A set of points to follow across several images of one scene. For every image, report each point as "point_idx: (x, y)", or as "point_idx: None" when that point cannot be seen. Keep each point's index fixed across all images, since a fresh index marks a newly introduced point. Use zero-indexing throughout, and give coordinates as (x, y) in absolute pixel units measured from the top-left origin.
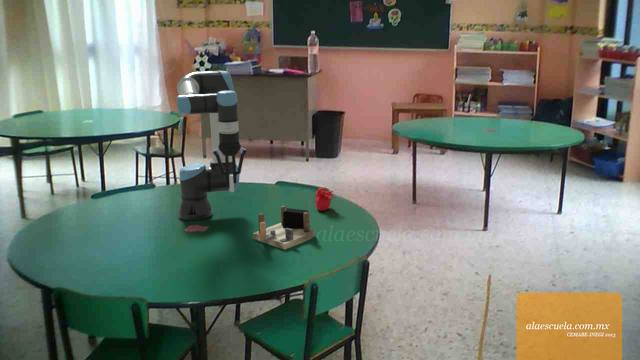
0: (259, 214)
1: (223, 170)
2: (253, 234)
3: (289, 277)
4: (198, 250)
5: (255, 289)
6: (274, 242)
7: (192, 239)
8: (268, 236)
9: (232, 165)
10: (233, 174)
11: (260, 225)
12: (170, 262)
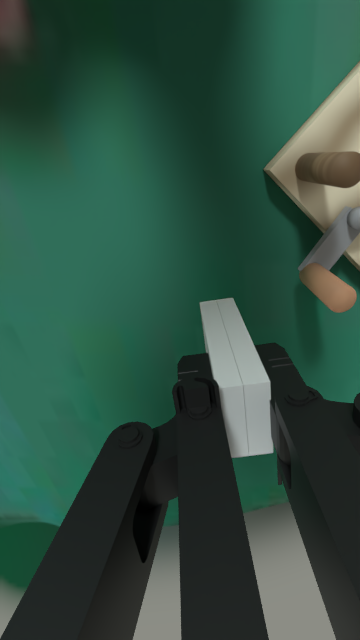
0: (339, 169)
1: (156, 539)
2: (269, 170)
3: None
4: (71, 283)
5: (267, 491)
6: (346, 254)
7: (6, 168)
8: (335, 249)
9: (328, 610)
10: (284, 463)
11: (326, 305)
12: (17, 369)
